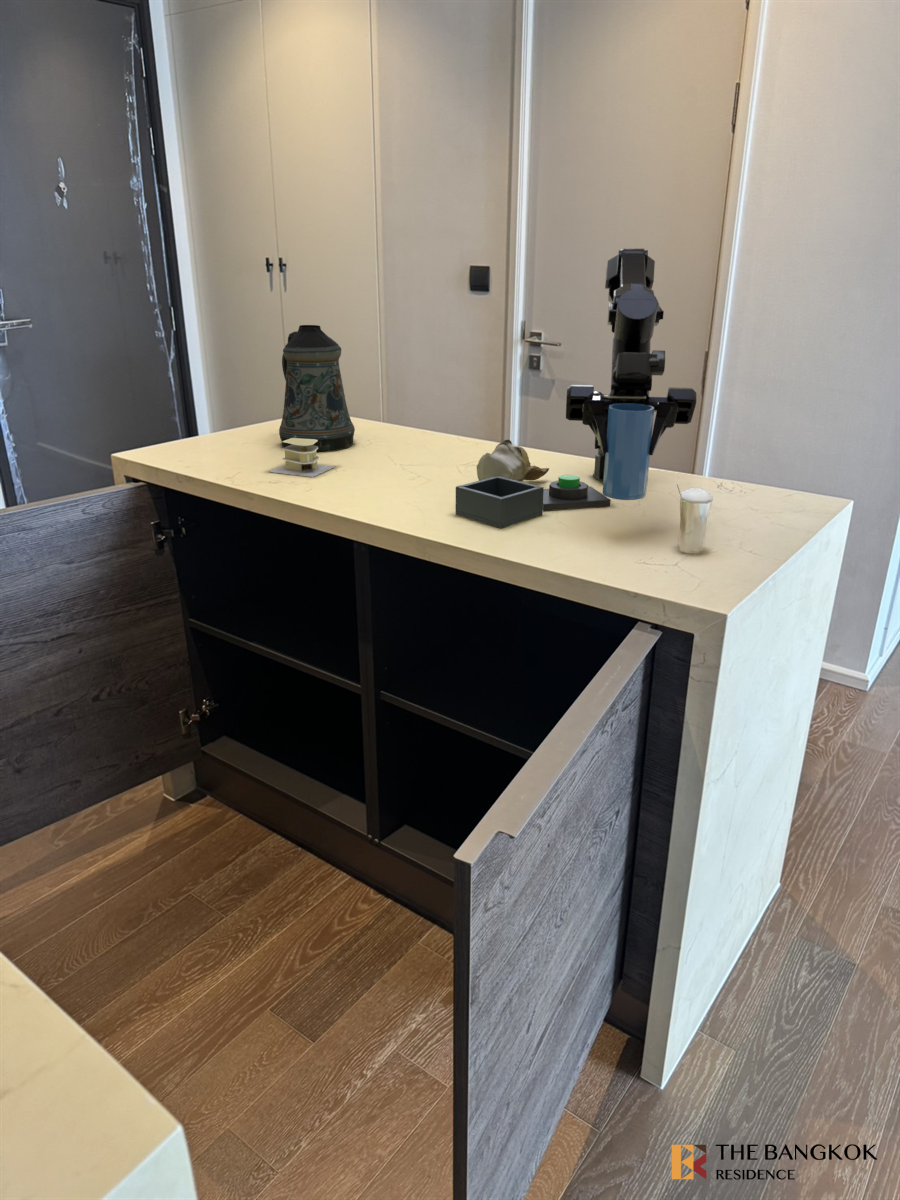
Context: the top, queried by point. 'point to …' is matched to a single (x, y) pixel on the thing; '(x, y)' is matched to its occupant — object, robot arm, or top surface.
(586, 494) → the panel
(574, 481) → the button
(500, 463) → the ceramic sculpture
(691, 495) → the milkshake
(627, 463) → the cup
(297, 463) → the stacked layers on plate
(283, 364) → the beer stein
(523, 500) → the open square box
